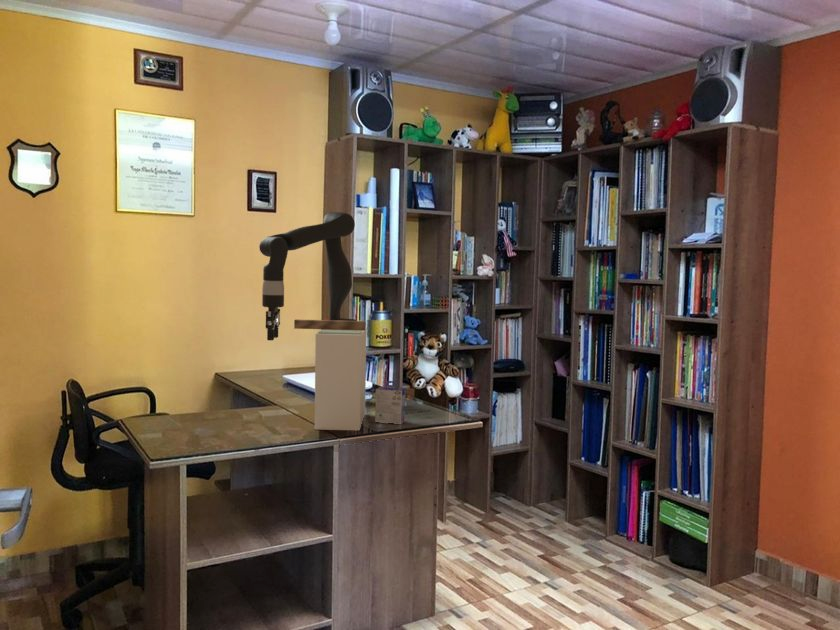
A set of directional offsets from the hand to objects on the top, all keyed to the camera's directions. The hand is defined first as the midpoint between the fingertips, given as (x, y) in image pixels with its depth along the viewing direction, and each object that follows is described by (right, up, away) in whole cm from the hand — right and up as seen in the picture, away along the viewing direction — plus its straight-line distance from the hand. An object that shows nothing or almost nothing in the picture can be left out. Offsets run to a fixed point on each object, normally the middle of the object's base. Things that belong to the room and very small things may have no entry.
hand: (272, 338), depth 248 cm
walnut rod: (+20, +4, 0) cm, 21 cm away
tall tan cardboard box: (+25, -29, -3) cm, 38 cm away
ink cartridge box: (+42, -30, -2) cm, 51 cm away
